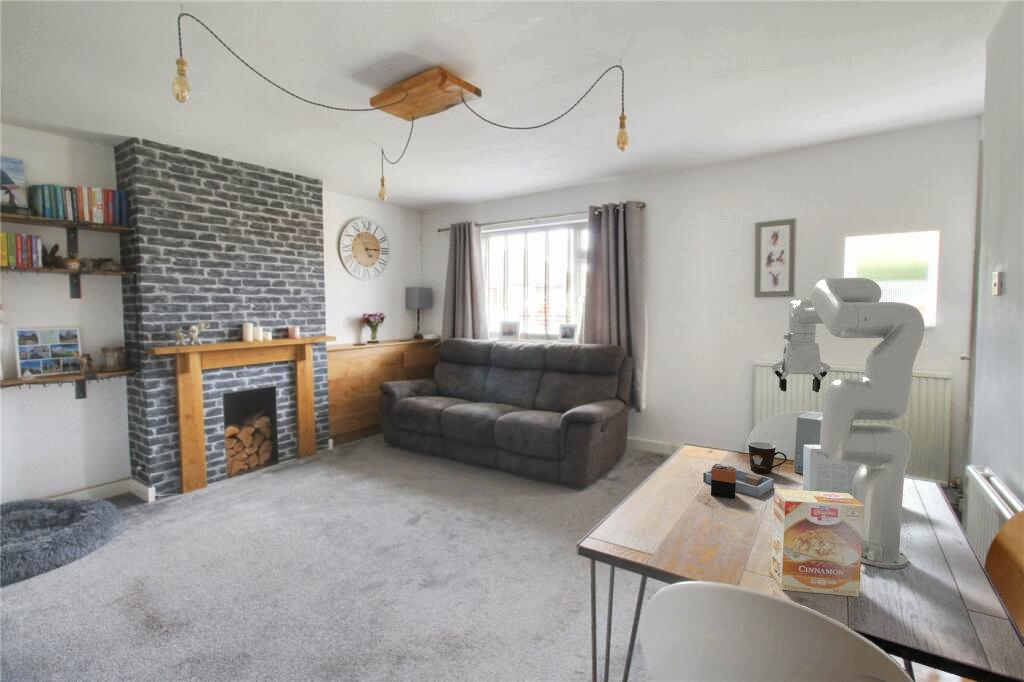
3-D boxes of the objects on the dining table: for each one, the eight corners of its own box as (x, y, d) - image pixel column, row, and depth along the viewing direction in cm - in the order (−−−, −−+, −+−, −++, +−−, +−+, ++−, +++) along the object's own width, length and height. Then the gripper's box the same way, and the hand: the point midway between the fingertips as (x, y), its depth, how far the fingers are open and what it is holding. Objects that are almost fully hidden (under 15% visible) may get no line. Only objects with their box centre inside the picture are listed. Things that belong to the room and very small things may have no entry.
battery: (711, 492, 154) (712, 461, 153) (735, 496, 151) (736, 464, 150) (710, 497, 150) (711, 465, 149) (734, 501, 147) (735, 469, 146)
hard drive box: (817, 478, 166) (820, 420, 164) (793, 472, 171) (795, 416, 170) (831, 467, 176) (833, 413, 174) (807, 462, 182) (809, 409, 180)
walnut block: (757, 492, 152) (757, 479, 152) (744, 488, 155) (744, 476, 155) (762, 489, 155) (763, 476, 154) (749, 485, 158) (750, 473, 157)
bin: (757, 499, 148) (758, 488, 148) (703, 483, 162) (703, 472, 161) (773, 489, 156) (773, 478, 156) (720, 474, 169) (720, 465, 169)
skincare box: (872, 494, 151) (874, 444, 150) (883, 502, 146) (886, 450, 144) (800, 492, 153) (802, 443, 152) (809, 499, 148) (811, 448, 147)
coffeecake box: (781, 590, 102) (784, 500, 100) (769, 572, 109) (773, 487, 107) (861, 598, 99) (865, 505, 97) (843, 578, 106) (848, 491, 104)
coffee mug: (741, 470, 174) (742, 442, 173) (761, 467, 176) (761, 440, 176) (767, 481, 163) (768, 452, 162) (787, 478, 165) (789, 449, 165)
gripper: (776, 339, 153) (774, 392, 155) (836, 339, 151) (834, 394, 152) (768, 337, 161) (766, 388, 162) (825, 337, 158) (823, 389, 159)
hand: (799, 391), depth 157 cm, fingers open, 9 cm apart
